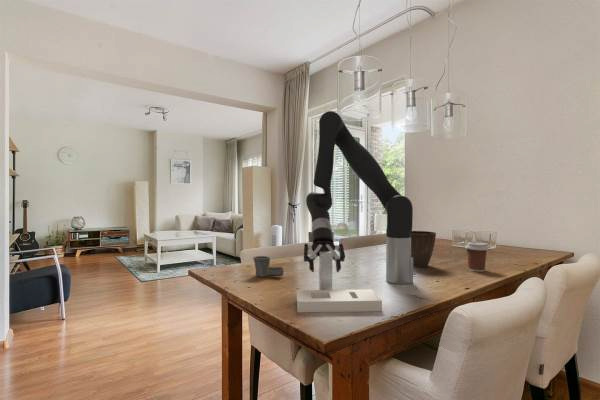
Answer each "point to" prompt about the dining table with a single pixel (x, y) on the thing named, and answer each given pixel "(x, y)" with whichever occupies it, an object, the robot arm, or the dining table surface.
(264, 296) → the dining table surface
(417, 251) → the plant pot
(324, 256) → the gray square peg
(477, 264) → the coffee cup
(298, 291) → the socket plank
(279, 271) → the pipe
